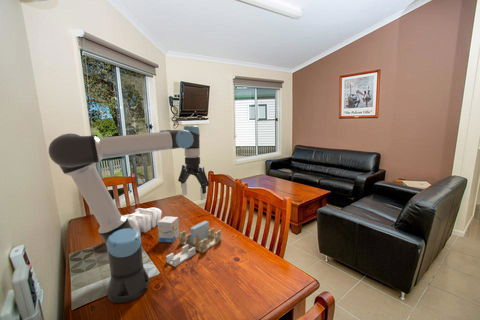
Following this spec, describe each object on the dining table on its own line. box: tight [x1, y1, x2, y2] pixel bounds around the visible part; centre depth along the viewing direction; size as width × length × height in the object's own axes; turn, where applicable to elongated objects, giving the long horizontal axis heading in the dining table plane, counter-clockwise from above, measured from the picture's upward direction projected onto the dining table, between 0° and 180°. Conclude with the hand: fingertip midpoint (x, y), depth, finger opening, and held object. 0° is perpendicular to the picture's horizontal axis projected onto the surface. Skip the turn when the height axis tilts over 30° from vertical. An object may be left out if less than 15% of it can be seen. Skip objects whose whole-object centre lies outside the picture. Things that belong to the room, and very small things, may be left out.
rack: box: [178, 227, 222, 254], centre depth 125 cm, size 15×17×6 cm
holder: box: [165, 244, 197, 268], centre depth 111 cm, size 13×6×3 cm, turn 144°
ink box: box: [157, 215, 180, 243], centre depth 130 cm, size 9×8×12 cm
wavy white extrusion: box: [123, 207, 162, 237], centre depth 142 cm, size 35×16×11 cm, turn 152°
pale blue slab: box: [189, 220, 210, 244], centre depth 125 cm, size 11×3×9 cm, turn 144°
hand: (193, 197), depth 118 cm, fingers open, 13 cm apart
